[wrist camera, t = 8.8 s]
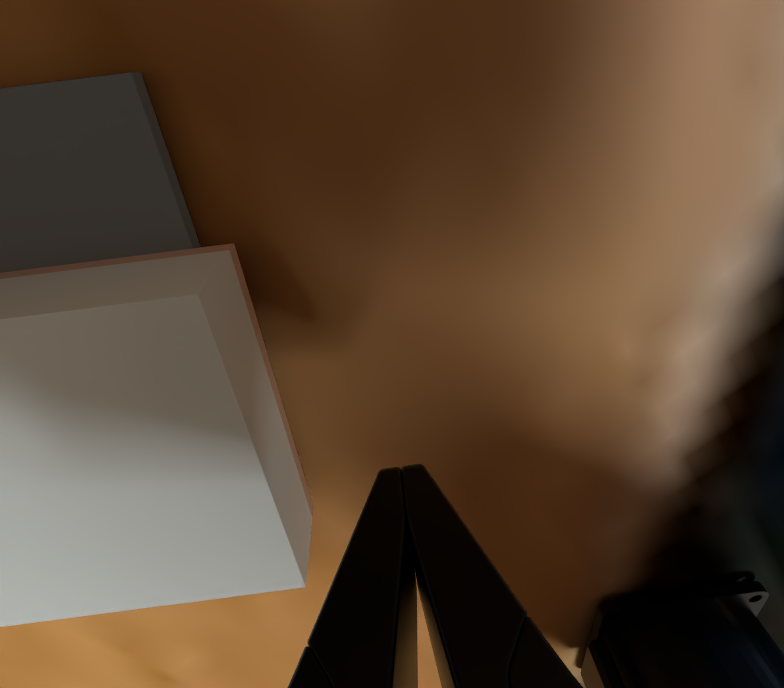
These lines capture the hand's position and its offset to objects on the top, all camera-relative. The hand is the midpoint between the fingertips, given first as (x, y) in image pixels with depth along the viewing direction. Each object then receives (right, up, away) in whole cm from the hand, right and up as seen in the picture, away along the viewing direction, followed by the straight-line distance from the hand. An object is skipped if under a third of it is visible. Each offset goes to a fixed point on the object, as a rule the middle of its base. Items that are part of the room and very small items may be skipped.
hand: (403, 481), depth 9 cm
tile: (-3, +1, +1) cm, 3 cm away
